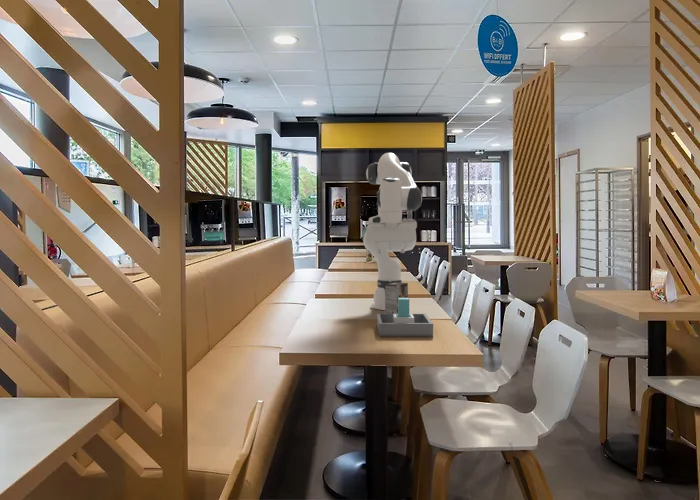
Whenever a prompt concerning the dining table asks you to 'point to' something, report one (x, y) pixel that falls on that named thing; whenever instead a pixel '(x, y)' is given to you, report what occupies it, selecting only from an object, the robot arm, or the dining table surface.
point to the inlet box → (404, 325)
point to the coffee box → (394, 296)
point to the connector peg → (403, 307)
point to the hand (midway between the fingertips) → (390, 253)
